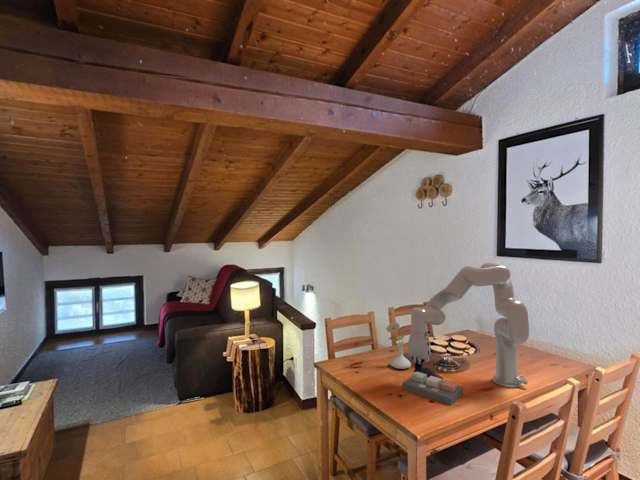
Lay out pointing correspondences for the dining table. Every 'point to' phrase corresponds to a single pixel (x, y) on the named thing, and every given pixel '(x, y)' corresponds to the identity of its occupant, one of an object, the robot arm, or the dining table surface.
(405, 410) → the dining table surface
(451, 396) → the keypad
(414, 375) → the key sage
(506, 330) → the robot arm
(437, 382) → the key cream
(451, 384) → the key terracotta
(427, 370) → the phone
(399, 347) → the flower in vase
